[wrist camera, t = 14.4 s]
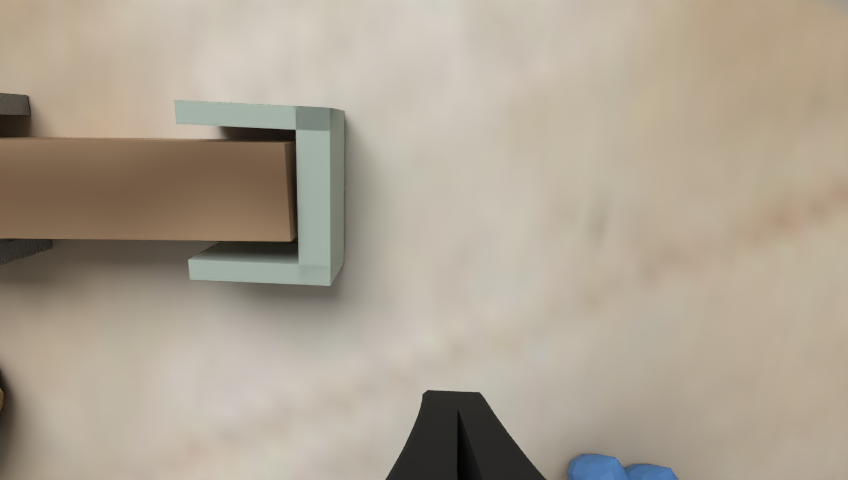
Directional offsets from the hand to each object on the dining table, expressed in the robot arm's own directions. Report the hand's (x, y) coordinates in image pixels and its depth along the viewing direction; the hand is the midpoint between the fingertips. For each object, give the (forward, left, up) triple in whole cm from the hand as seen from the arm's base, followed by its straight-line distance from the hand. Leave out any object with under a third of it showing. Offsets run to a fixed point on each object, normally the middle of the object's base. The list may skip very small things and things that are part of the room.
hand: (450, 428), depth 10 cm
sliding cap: (+4, +7, -10) cm, 13 cm away
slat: (+4, +13, -11) cm, 17 cm away
